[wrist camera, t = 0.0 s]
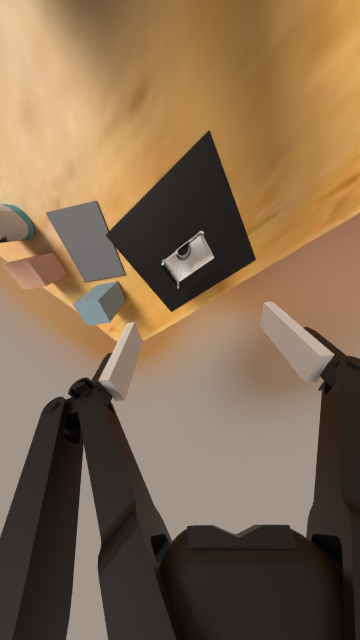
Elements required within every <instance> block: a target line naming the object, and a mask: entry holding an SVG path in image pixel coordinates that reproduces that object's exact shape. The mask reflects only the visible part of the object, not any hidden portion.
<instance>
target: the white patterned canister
mask: <svg viewBox="0 0 360 640" xmlns="http://www.w3.org/2000/svg"><path fill="white" fill-rule="evenodd" d="M34 233H35V232H34V226H33V224H32V222H31V220H30V219H29V217H28V216H27V215H26V214H25V213H24V212H23V211H22V210H20V209H19V208H18V207H15V206H13V205H8V204H0V243H3V242H11V241H20V240H28V239H31V238H32V237H33V236H34Z"/></svg>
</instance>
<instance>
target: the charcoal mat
mask: <svg viewBox="0 0 360 640" xmlns="http://www.w3.org/2000/svg"><path fill="white" fill-rule="evenodd" d="M46 214H47V216H48V218H49V219H50V221H51V223H52V225H53V226H54V228H55V230H56V232H57V233H58V235H59V237H60V239H61V240H62V242H63V244H64V246H65V247H66V249H67V251H68V253H69V254H70V256H71V258H72V260H73V261H74V263H75V265H76V267H77V268H78V270H79V272H80V274H81V275H82V277H83V279H84V281H85V282H88V281H93V280H99V279H104V278H109V277H115V276H120V275H125V272H124V269H123V267H122V264H121V262H120V259H119V256H118V254H117V251H116V249H115V246H114V245H113V243H112V242H111V241H110V240H109V239H108V238H107V236H106V234H107V233H108V232H109V231H108V228H107V226H106V223H105V221H104V218H103V216H102V213H101V211H100V208H99V206H98V203H97V201H93V202H89V203H85V204H80V205H76V206H72V207H68V208H64V209H60V210H56V211H51V212H47V213H46Z"/></svg>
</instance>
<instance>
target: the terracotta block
mask: <svg viewBox="0 0 360 640" xmlns="http://www.w3.org/2000/svg"><path fill="white" fill-rule="evenodd" d="M2 265H3V266H4V267H5V269H6V270H7V271H8V272H9V273H10V274H11V276H12V277H13V278H14V279H15V280H16V281H17V283H18V284H19V285H20V286H21V287H22V288H23V290H27V289H32V288H37V287H43V286H47V285H49V284H51V283H53V282H55V281H57V280H59V279H61V278H64V277H66V276H68V274H67V273H66V271H65V269H64V268H63V266H62V265H61V263H60V261H59V260H58V258H57V257H56V255H55V253H54V252H53V253H48V254H43V255H38V256H34V257H29V258H25V259H21V260H17V261H13V262H8V263H4V264H2Z"/></svg>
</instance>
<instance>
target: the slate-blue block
mask: <svg viewBox="0 0 360 640" xmlns="http://www.w3.org/2000/svg"><path fill="white" fill-rule="evenodd" d="M124 301H125V297H124V295H123V293H122V290H121V288H120V286H119V284H118V281H116V282H110V283H105V284H99V285H97V286H96V287H95V288H93V289H92V290H91V291H89V292H88V293H87V294H86V295H84V296H83V297H82V298H80V299H79V300H78V301H77V302H75V303H74V304H73V306H74V307H75V309H76V310H77V311H78V313H79V314H80V316H81V317H82V319H83V320H84V322H85V323H86V324H87V325H95V324H102V323H108V322H111V320H112V319H113V317H114V316H115V315H116V313H117V312H118V310H119V309H120V307H121V306H122V304H123V303H124Z"/></svg>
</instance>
